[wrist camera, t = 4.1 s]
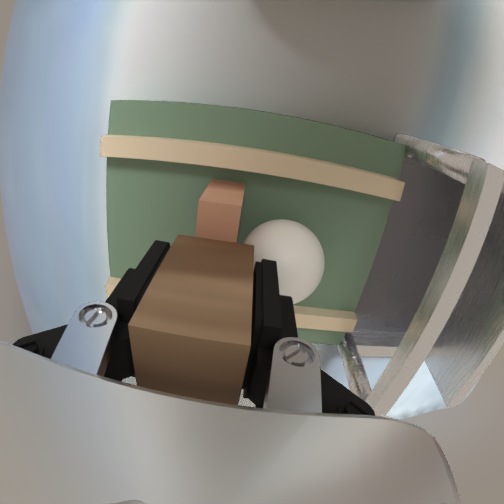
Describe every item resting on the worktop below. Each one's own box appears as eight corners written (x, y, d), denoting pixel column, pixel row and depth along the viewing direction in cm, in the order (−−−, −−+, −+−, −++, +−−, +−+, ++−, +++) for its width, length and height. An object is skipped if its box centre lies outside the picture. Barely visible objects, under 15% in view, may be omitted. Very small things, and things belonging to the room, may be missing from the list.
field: (122, 100, 14) (103, 100, 12) (395, 142, 15) (413, 148, 13) (122, 299, 20) (110, 320, 18) (336, 330, 21) (342, 353, 19)
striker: (197, 177, 14) (123, 272, 6) (260, 185, 14) (261, 294, 6) (189, 283, 17) (144, 420, 9) (242, 291, 17) (230, 435, 9)
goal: (395, 131, 15) (488, 159, 7) (492, 170, 15) (578, 213, 8) (332, 336, 21) (355, 431, 14) (422, 341, 21) (461, 417, 14)
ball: (246, 201, 15) (242, 233, 12) (324, 214, 15) (344, 249, 12) (236, 271, 17) (229, 317, 13) (307, 281, 17) (318, 328, 14)
